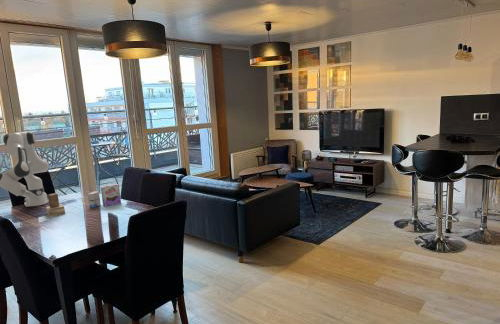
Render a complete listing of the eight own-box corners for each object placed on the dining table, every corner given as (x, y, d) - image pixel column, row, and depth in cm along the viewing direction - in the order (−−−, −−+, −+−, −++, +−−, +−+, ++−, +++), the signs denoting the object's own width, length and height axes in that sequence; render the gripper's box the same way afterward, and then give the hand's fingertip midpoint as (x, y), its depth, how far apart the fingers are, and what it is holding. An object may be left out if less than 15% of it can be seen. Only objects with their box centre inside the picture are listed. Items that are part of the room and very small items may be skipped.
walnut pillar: (49, 207, 268) (47, 194, 266) (56, 205, 272) (54, 193, 270) (53, 208, 265) (51, 195, 263) (59, 206, 269) (57, 194, 267)
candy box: (103, 206, 281) (101, 187, 278) (102, 205, 286) (100, 186, 283) (121, 203, 287) (118, 184, 285) (120, 202, 292) (117, 183, 290)
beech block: (47, 214, 271) (45, 206, 270) (62, 210, 277) (61, 203, 276) (49, 217, 262) (48, 209, 261) (65, 213, 269) (64, 206, 268)
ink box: (94, 207, 280) (92, 193, 278) (89, 207, 281) (87, 193, 279) (101, 204, 288) (99, 191, 286) (95, 204, 289) (94, 191, 287)
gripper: (27, 187, 244) (44, 197, 253) (17, 184, 256) (33, 194, 265) (21, 195, 241) (38, 204, 250) (11, 191, 253) (27, 201, 263)
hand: (35, 199), depth 258 cm, fingers open, 8 cm apart
